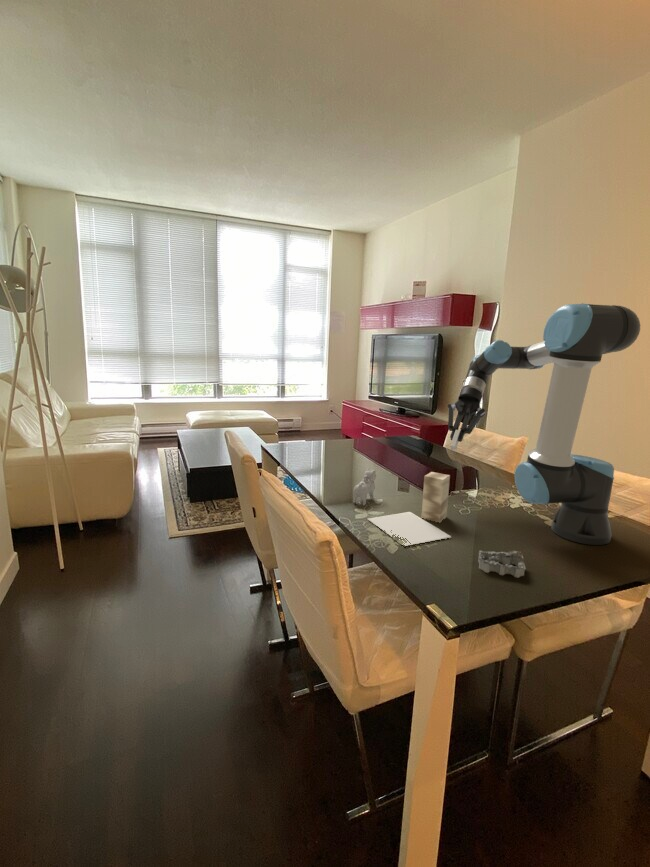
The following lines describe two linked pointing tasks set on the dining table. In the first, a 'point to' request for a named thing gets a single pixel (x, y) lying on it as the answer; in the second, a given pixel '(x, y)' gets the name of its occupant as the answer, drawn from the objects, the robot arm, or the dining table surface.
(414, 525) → the mat
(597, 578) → the dining table surface
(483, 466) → the dining table surface
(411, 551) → the dining table surface
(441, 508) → the birch block
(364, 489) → the dog figurine
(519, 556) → the egg carton
